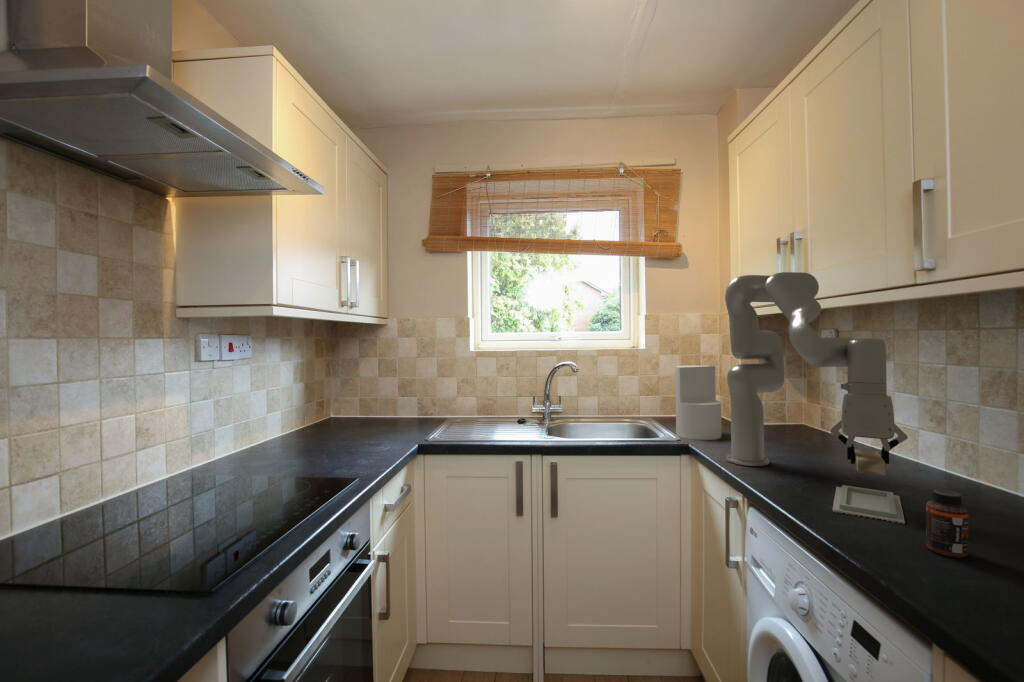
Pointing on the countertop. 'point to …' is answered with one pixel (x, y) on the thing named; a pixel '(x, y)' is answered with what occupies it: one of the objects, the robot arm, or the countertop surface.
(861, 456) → the birch tile
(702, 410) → the grey stepped piece
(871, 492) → the white flat rectangular tray
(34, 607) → the countertop surface
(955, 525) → the supplement bottle
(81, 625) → the countertop surface
